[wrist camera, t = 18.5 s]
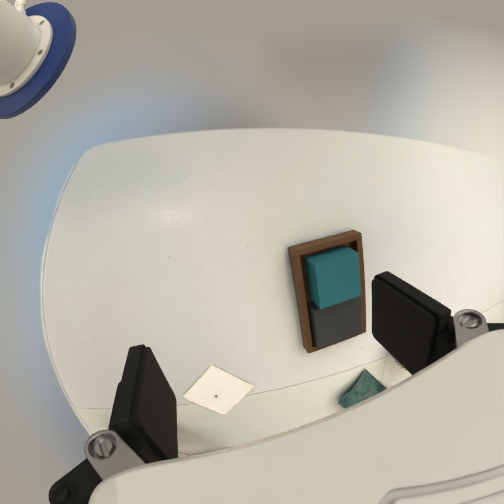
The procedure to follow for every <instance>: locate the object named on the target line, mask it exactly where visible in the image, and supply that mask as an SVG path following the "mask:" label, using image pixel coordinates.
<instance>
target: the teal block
mask: <svg viewBox="0 0 504 504" xmlns="http://www.w3.org/2000/svg"><path fill="white" fill-rule="evenodd" d="M304 260H305V267H306V273H307V280H308V287H309V295H310V299H311V300H312V301H313V302H314V303H315V304H316V305H317V306H318V308H319V309H324V308H327V307H330V306H332V305H335V304H338V303H341V302H344V301H347V300H350V299H353V298H355V297H358V296H361V282H360V266H359V253H358V252H356V251H354V250H352V249H351V248H349V247H347V246H342V247H338V248H334V249H331V250H327V251H324V252H320V253H317V254H313V255H309V256H306V257H304Z"/></svg>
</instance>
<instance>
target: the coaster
mask: <svg viewBox="0 0 504 504" xmlns="http://www.w3.org/2000/svg"><path fill="white" fill-rule="evenodd" d="M253 387H254V386H253V385H251V384H249V383H247V382H245V381H243V380H240V379H238V378H236V377H234V376H232V375H230V374H228V373H226V372H224V371H222V370H220V369H218V368H217V367H215V366H213V365H211V367H210V368H209V369H208V370H207V371H206V372H205V373H204V374H203V375H202V376H201V377H200V379H199V380H198V381H197V382H196V383H195V384H194V385H193V386H192V387H191V388H190V389H189V390H188V391H187V392H186V394H185V395H184V396H183V397H184V398H186V399H188V400H190V401H192V402H194V403H197V404H199V405H201V406H204V407H206V408H208V409H211V410H213V411H215V412H218V413H220V414H223V415H224V414H226V413H227V412H228V411H229V410H230V409H231V408H232V407H233V406H234V405H235V404H236V403H237V402H238V401H240V400H241V399H242V398H243V397H244V396H245V395H246V394H247V393H248V392H249V391H250V390H251V389H252V388H253Z"/></svg>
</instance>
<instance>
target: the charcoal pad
mask: <svg viewBox="0 0 504 504" xmlns="http://www.w3.org/2000/svg"><path fill="white" fill-rule="evenodd" d="M307 307H308V315H309V322H310V330H311V338H312V341H313V343H314V344H315V346H316V347H317V348H318V349H319V348H322V347H325V346H327V345H330V344H333V343H336V342H338V341H341V340H344V339H346V338H349V337H351V336H354V335H356V334H359V333H361V332H362V306H361V296H358V297H355V298H353V299H350V300H347V301H344V302H341V303H338V304H335V305H332V306H330V307H327V308H324V309H319V308H318V306H317V305H316V304H315V303H314V302H310V303H307Z"/></svg>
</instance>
